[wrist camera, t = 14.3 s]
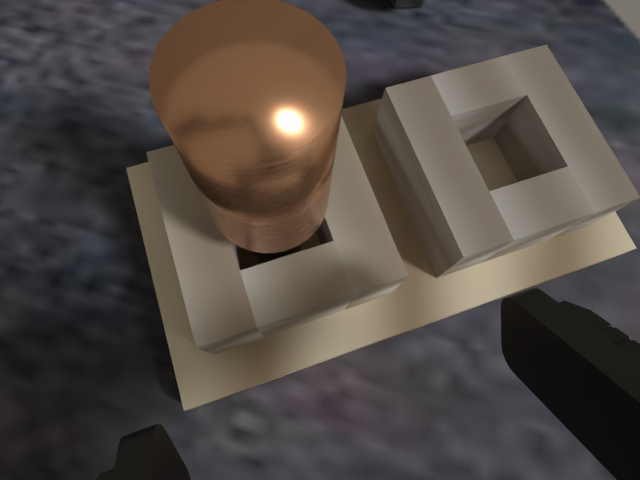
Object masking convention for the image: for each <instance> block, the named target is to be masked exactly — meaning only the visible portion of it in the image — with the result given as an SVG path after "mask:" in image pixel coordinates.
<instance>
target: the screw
mask: <svg viewBox="0 0 640 480" xmlns="http://www.w3.org/2000/svg"><path fill="white" fill-rule="evenodd" d="M389 1H390V3H391V4H392V5H393V6H394V7H395V8H421V6H422V5H423V3H424V1H425V0H389Z"/></svg>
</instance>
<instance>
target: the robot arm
mask: <svg viewBox="0 0 640 480" xmlns="http://www.w3.org/2000/svg"><path fill="white" fill-rule="evenodd" d="M501 343H502V352H503V355H504V358H505V360H506V362H507V364H508V366H509V367H510V369H511V370H512V371H513V372H514V374H515V375H516V376H517V377H518V378H519V379H520V380H521V381H522V382H523V383H524V384H525V385H526V386H527V387H528V388H529V389H530V390H531V391H532V392H533V393H534V394H535V395H536V396H537V397H538V398H539V400H540V401H541V402H542V403H543V404H544V405H545V406H546V407H547V408H548V409H549V410H550V411H551V412H552V413H553V414H554V415H555V416H556V417H557V418H558V419H559V420H560V421H561V422H562V423H563V424H564V425H565V426H566V427H567V429H568V430H569V431H570V432H571V433H572V434H573V435H574V436H575V437H576V438H577V439H578V440H579V441H580V442H581V443H582V444H583V445H584V446H585V447H586V448H587V449H588V450H589V451H590V452H591V453H592V454H593V455H594V456H595V458H596V459H597V460H598V461H599V462H600V463H601V464H602V465H603V466H604V467H605V468H606V469H607V470H608V471H609V472H610V473H611V474H612V475H613V476H614V477H615V478H616V479H617V480H640V344H639V343H638V342H636V341H635V340H630V339H629V336H627V335H626V334H624V333H623V332H621V331H620V330H619V329H617V328H616V327H615V328H613V327H612V326H611V324H610V323H608V322H607V321H605V320H604V319H602V318H601V317H599V316H598V315H597V314H595V313H594V312H592V311H591V310H588V309H586V308H583V307H580V306H578V305H575V304H572V303H569V302H567V301H562V302H560V303H558V302H557V301H555V300H554V299H552V298H551V297H550V296H548V295H547V294H546V293H544V292H543V291H541V290H540V289H537V288H531V289H528V290H525V291H523V292H520V293H517V294H514V295H512V296H509V297H506V298H504V299H503V300H502V302H501ZM97 480H190V476H189V473H188V470H187V468H186V466H185V464H184V462H183V461H182V459H181V457H180V455H179V453H178V452H177V450H176V448H175V446H174V445H173V443H172V441H171V439H170V438H169V436H168V434H167V432H166V430H165V429H164V427H163V426H162V425H161V424H156V425H153V426H151V427H148V428H145V429H142V430H140V431H137V432H134V433H131V434H129V435H126V436H123V437H122V438H121V439H120V442H119V446H118V451H117V457H116V464H115V468H114V469H111V470H109V471H106V472H103V473H101V474H100V475H99V476H98V478H97Z"/></svg>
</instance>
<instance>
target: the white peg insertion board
mask: <svg viewBox="0 0 640 480" xmlns="http://www.w3.org/2000/svg"><path fill="white" fill-rule="evenodd" d="M146 153H147V157H148V161H149V162H146V163H143V164H139V165H135V166H132V167H128V168H126V169H127V174H128V178H129V182H130V186H131V190H132V195H133V199H134V203H135V207H136V211H137V216H138V220H139V224H140V228H141V233H142V237H143V241H144V245H145V249H146V254H147V258H148V262H149V266H150V270H151V275H152V279H153V283H154V287H155V291H156V296H157V300H158V304H159V308H160V313H161V317H162V321H163V325H164V329H165V334H166V338H167V342H168V346H169V350H170V355H171V359H172V363H173V367H174V372H175V376H176V380H177V384H178V388H179V393H180V397H181V401H182V405H183V409H184V411H185V410H189V409H193V408H196V407H199V406H202V405H204V404H207V403H210V402H213V401H215V400H218V399H221V398H224V397H227V396H229V395H232V394H235V393H238V392H240V391H243V390H246V389H249V388H252V387H254V386H257V385H260V384H263V383H265V382H268V381H271V380H274V379H277V378H279V377H282V376H285V375H288V374H291V373H293V372H296V371H299V370H302V369H304V368H307V367H310V366H313V365H316V364H318V363H321V362H324V361H327V360H329V359H332V358H335V357H338V356H341V355H343V354H346V353H349V352H352V351H355V350H357V349H360V348H363V347H366V346H368V345H371V344H374V343H377V342H380V341H382V340H385V339H388V338H391V337H393V336H396V335H399V334H402V333H405V332H407V331H410V330H413V329H416V328H418V327H421V326H424V325H427V324H430V323H432V322H435V321H438V320H441V319H444V318H446V317H449V316H452V315H455V314H457V313H460V312H463V311H466V310H469V309H471V308H474V307H477V306H480V305H482V304H485V303H488V302H491V301H494V300H496V299H499V298H502V297H505V296H507V295H510V294H513V293H516V292H519V291H521V290H524V289H527V288H530V287H533V286H535V285H538V284H541V283H544V282H546V281H549V280H552V279H555V278H558V277H560V276H563V275H566V274H569V273H571V272H574V271H577V270H580V269H583V268H585V267H588V266H591V265H594V264H597V263H599V262H602V261H605V260H608V259H610V258H613V257H616V256H619V255H621V254H623V253H626V252H628V251H631V250H633V249H636V246H635V245H634V243H633V241H632V240H631V238H630V236H629V234H628V233H627V231H626V229H625V228H624V226H623V224H622V223H621V221H620V219H619V218H618V216H617V214H616V212H615V211H616V210H618V209H620V208H622V207H624V206H626V205H627V204H629V203H631V202H633V201H635V200H636V199H638V198H640V196H639V194H638V193H637V191H636V189H635V188H634V186H633V185H632V183H631V181H630V180H629V178H628V176H627V175H626V173H625V172H624V170H623V168H622V167H621V165H620V163H619V162H618V160H617V159H616V157H615V155H614V154H613V152H612V150H611V149H610V147H609V145H608V144H607V142H606V141H605V139H604V137H603V136H602V134H601V132H600V131H599V129H598V128H597V126H596V124H595V123H594V121H593V119H592V118H591V116H590V115H589V113H588V111H587V110H586V108H585V106H584V105H583V103H582V102H581V100H580V98H579V97H578V95H577V93H576V92H575V90H574V89H573V87H572V85H571V84H570V82H569V80H568V79H567V77H566V76H565V74H564V72H563V71H562V69H561V67H560V66H559V64H558V63H557V61H556V59H555V58H554V56H553V54H552V53H551V51H550V50H549V48H548V46H547V45H543V46H539V47H536V48H532V49H528V50H525V51H521V52H517V53H513V54H510V55H506V56H502V57H499V58H495V59H491V60H487V61H484V62H480V63H476V64H473V65H469V66H465V67H461V68H458V69H454V70H450V71H446V72H443V73H439V74H435V75H432V76H428V77H424V78H420V79H417V80H413V81H409V82H406V83H402V84H398V85H394V86H391V87H387V88H385V91H384V94H383V97H382V98H381V99H378V100H374V101H370V102H367V103H363V104H359V105H356V106H352V107H348V108H345V109H342V113H341V120H340V127H339V134H338V140H337V147H336V154H335V160H334V167H333V174H332V180H331V187H330V194H329V200H328V207H327V211H326V214H325V217H324V219H323V221H322V223H321V225H320V226H319V228H318V229H317V230H316V232H315V233H314V234H313V235H312V236H311V237H310V238H308V239H307V240H306V241H305V242H303V243H302V245H301V250H300V252H297V253H294V254H291V255H288V256H284V257H281V258H278V259H275V260H272V261H269V262H266V263H261V262H260V261H259V260H258V259H257V258H256V257H255V255H254V253H253V251H249V250H246V249H243V248H241V247H239V246H237V245H235V244H234V243H232V242H231V241H229V240H228V239H227V238H226V237H225V236H224V235H223V234H222V233H221V232H220V231H219V229H218V228H217V226H216V225H215V223H214V221H213V219H212V217H211V215H210V213H209V211H208V209H207V207H206V206H205V204H204V202H203V200H202V198H201V196H200V194H199V192H198V190H197V188H196V186H195V184H194V182H193V180H192V179H191V177H190V175H189V173H188V171H187V169H186V167H185V165H184V163H183V161H182V159H181V157H180V155H179V153H178V152H177V150H176V148H175V146H174V145H171V146H168V147H164V148H160V149H156V150H153V151H149V152H146Z"/></svg>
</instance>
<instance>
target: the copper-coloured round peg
mask: <svg viewBox="0 0 640 480" xmlns="http://www.w3.org/2000/svg"><path fill="white" fill-rule="evenodd" d="M345 87H346V66H345V62H344V58H343V54H342V52H341V49H340V47H339V45H338V43H337V42H336V40H335V38H334V37H333V35H332V34H331V33H330V32H329V30H328V29H327V28H326V27H325V26H324V25H323V24H322V23H321V22H320V21H319V20H317V19H316V18H315V17H313V16H312V15H311V14H309V13H307V12H306V11H304V10H302V9H300V8H298V7H296V6H294V5H291V4H289V3H286V2H283V1H279V0H219V1H216V2H212V3H209V4H207V5H204V6H202V7H200V8H197V9H195V10H194V11H192V12H190V13H189V14H187V15H185V16H184V17H183V18H181V19H180V20H179V21H177V22H176V23H175V24H174V25H173V26H172V27H171V28H170V29H169V30H168V31H167V32H166V34H165V35H164V36H163V37H162V39H161V41H160V42H159V44H158V45H157V47H156V49H155V52H154V54H153V56H152V60H151V64H150V68H149V90H150V94H151V99H152V102H153V104H154V106H155V109H156V111H157V113H158V115H159V117H160V119H161V121H162V123H163V124H164V126H165V128H166V130H167V132H168V134H169V136H170V138H171V140H172V142H173V144H174V146H175V148H176V150H177V152H178V153H179V155H180V157H181V159H182V161H183V163H184V165H185V167H186V169H187V171H188V173H189V175H190V177H191V179H192V180H193V182H194V184H195V186H196V188H197V190H198V192H199V194H200V196H201V198H202V200H203V202H204V204H205V206H206V207H207V209H208V211H209V213H210V215H211V217H212V219H213V221H214V223H215V225H216V226H217V228H218V229H219V231H220V232H221V233H222V234H223V235H224V236H225V237H226V238H227V239H228V240H229V241H231V242H232V243H234V244H235V245H237V246H239V247H241V248H243V249H246V250H249V251H253V253H254V255H255V257H256V258H257V259H258V260H259V261H260V262H261V263H266V262H269V261H272V260H275V259H278V258H281V257H284V256H288V255H291V254H294V253H297V252H300V250H301V245H302V243H303V242H305V241H306V240H307V239H308V238H310V237H311V236H312V235H313V234H314V233H315V232H316V230H317V229H318V228H319V226H320V225H321V223H322V221H323V219H324V217H325V214H326V211H327V207H328V200H329V194H330V187H331V180H332V174H333V167H334V160H335V154H336V147H337V140H338V134H339V127H340V120H341V113H342V107H343V100H344V93H345Z"/></svg>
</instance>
